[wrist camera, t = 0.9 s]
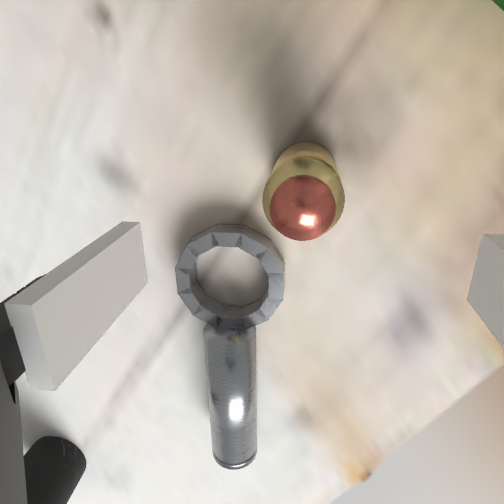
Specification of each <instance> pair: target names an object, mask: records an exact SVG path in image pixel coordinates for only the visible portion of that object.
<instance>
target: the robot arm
mask: <svg viewBox="0 0 504 504" xmlns="http://www.w3.org/2000/svg"><path fill="white" fill-rule="evenodd" d="M147 283H148V278H147V271H146V263H145V256H144V249H143V241H142V234H141V226H140V222H121V223H120V224H118V225H117V226H115V227H114V228H112V229H111V230H110V231H108V232H107V233H105V234H104V235H102V236H101V237H99V238H98V239H97V240H95V241H94V242H92V243H91V244H89V245H88V246H86V247H85V248H84V249H82V250H81V251H79V252H78V253H76V254H75V255H73V256H72V257H71V258H69V259H68V260H66V261H65V262H63V263H62V264H60V265H59V266H58V267H56V268H55V269H53V270H52V271H50V272H49V273H47V274H45V275H43V276H40V277H38V278H36V279H35V280H33V281H32V282H30V283H29V284H28V285H26V287H23V288H22V289H20V290H19V291H17V293H16V294H15V293H14V294H13V295H11V296H10V297H8V298H7V299H6V300H4V301H3V302H1V303H0V504H27V492H26V480H25V468H24V455H23V443H22V431H21V419H20V406H19V394H18V389H17V386H16V383H15V381H16V380H17V379H18V378H19V377H20V376H21V375H22V374H23V373H24V372H25V373H26V377H27V380H28V383H29V386H30V388H31V389H41V390H51V391H55V390H56V389H57V388H58V387H59V386H60V385H61V383H62V382H63V381H64V380H65V379H66V378H67V376H68V375H69V374H70V373H71V372H72V370H73V369H74V368H75V367H76V366H77V365H78V363H79V362H80V361H81V360H82V359H83V358H84V356H85V355H86V354H87V353H88V352H89V351H90V349H91V348H92V347H93V346H94V345H95V344H96V342H97V341H98V340H99V339H100V338H101V337H102V335H103V334H104V333H105V332H106V331H107V329H108V328H109V327H110V326H111V325H112V324H113V322H114V321H115V320H116V319H117V318H118V317H119V315H120V314H121V313H122V312H123V311H124V310H125V308H126V307H127V306H128V305H129V304H130V303H131V301H132V300H133V299H134V298H135V297H136V296H137V294H138V293H139V292H140V291H141V290H142V288H143V287H144V286H145V285H146V284H147ZM467 301H468V302H469V303H470V305H471V306H472V307H473V309H474V310H475V311H476V313H477V314H478V315H479V317H480V318H481V319H482V321H483V322H484V323H485V325H486V326H487V327H488V329H489V330H490V331H491V333H492V334H493V335H494V337H495V338H496V339H497V341H498V342H499V343H500V345H501V346H502V347H503V349H504V235H503V234H482V238H481V243H480V247H479V251H478V255H477V259H476V264H475V268H474V272H473V276H472V281H471V285H470V289H469V293H468V297H467Z"/></svg>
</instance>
